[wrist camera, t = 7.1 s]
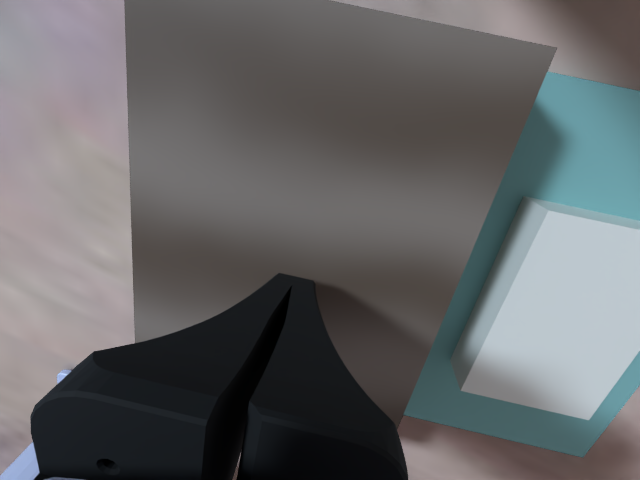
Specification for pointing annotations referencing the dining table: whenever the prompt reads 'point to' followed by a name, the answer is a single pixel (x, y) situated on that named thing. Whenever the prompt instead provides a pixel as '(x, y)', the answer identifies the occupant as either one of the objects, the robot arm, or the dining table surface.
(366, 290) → the grey flat block
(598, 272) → the white block
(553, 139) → the mat
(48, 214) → the dining table surface
